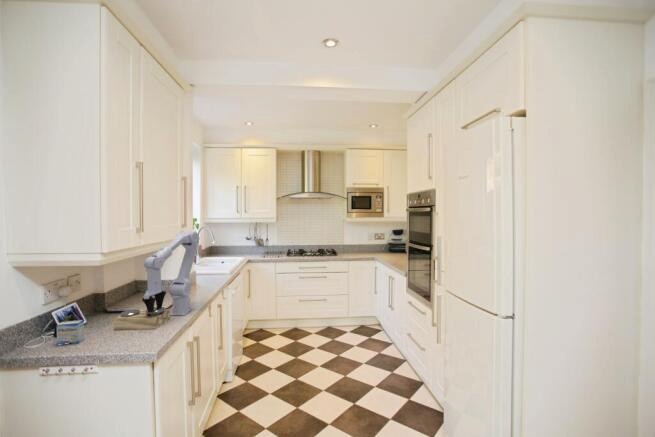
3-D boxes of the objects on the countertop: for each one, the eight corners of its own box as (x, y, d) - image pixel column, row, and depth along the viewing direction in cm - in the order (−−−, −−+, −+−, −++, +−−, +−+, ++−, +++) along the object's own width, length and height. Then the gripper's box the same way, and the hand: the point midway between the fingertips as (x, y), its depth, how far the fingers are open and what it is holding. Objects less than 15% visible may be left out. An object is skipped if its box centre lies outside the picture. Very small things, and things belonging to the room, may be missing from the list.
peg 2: (151, 316, 151) (151, 306, 151) (168, 315, 151) (167, 306, 151) (142, 322, 143) (142, 312, 143) (159, 321, 143) (159, 312, 143)
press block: (131, 319, 153) (131, 309, 153) (169, 318, 154) (169, 309, 153) (114, 329, 140) (113, 319, 140) (155, 329, 141) (155, 318, 140)
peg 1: (127, 319, 151) (127, 309, 151) (143, 318, 151) (143, 309, 151) (116, 325, 143) (116, 315, 143) (133, 324, 143) (133, 314, 143)
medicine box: (56, 346, 124) (55, 325, 124) (62, 341, 129) (62, 321, 128) (79, 343, 126) (78, 323, 126) (84, 339, 131) (84, 319, 130)
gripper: (154, 278, 154) (155, 304, 154) (136, 285, 139) (137, 314, 139) (168, 278, 154) (169, 304, 154) (152, 285, 139) (153, 314, 140)
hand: (155, 309), depth 147 cm, fingers open, 7 cm apart
